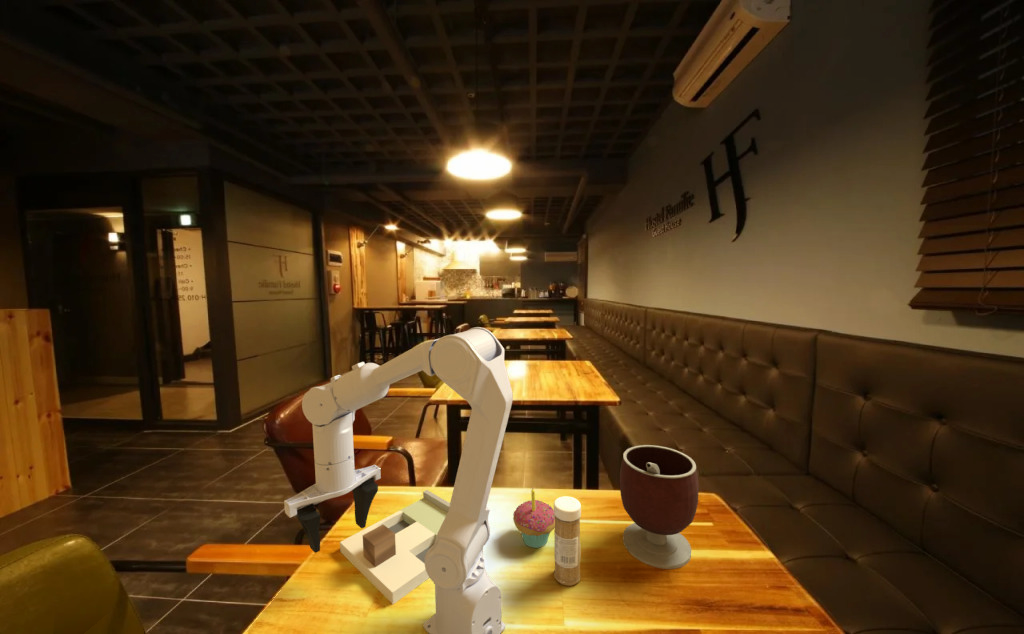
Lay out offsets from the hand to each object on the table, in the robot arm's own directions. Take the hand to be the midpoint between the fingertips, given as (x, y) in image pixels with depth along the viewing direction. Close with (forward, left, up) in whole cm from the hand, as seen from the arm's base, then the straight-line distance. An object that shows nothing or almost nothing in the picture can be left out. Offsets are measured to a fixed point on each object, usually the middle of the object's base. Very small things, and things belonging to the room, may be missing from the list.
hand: (338, 536), depth 61 cm
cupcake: (-17, -30, -10) cm, 36 cm away
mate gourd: (-36, -43, -10) cm, 57 cm away
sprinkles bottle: (-27, -26, -10) cm, 39 cm away
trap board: (0, -14, -9) cm, 17 cm away
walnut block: (0, -7, -7) cm, 10 cm away
